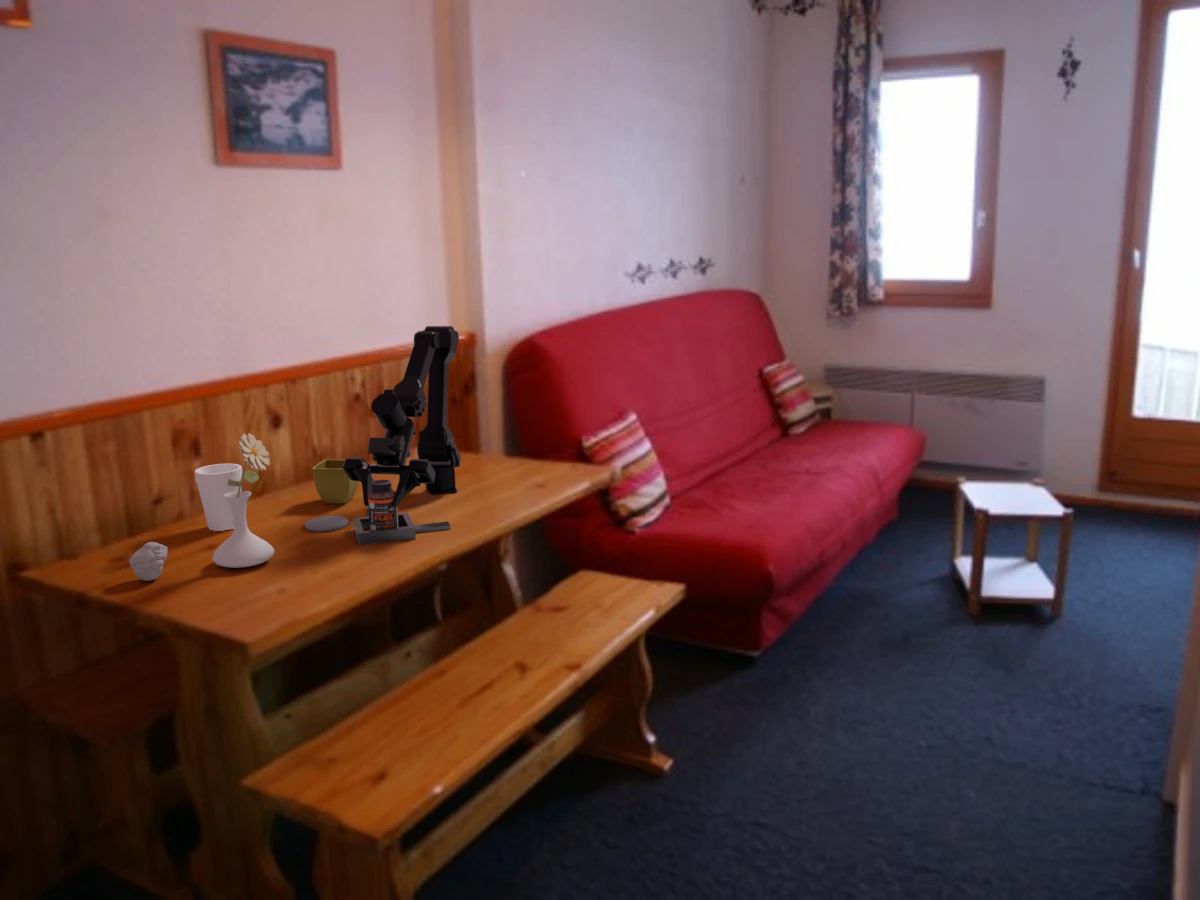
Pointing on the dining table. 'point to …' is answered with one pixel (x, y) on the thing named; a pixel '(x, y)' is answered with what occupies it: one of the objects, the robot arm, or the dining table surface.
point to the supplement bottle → (382, 506)
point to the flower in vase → (244, 514)
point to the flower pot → (333, 482)
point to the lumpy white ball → (149, 561)
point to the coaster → (326, 523)
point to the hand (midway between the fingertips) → (379, 505)
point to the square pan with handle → (393, 530)
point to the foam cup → (217, 493)
